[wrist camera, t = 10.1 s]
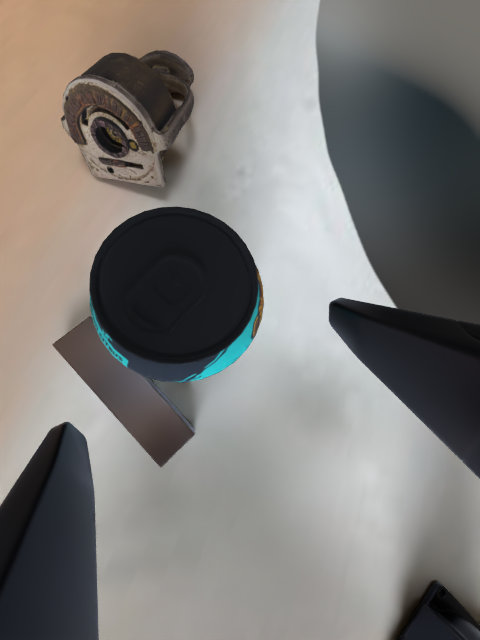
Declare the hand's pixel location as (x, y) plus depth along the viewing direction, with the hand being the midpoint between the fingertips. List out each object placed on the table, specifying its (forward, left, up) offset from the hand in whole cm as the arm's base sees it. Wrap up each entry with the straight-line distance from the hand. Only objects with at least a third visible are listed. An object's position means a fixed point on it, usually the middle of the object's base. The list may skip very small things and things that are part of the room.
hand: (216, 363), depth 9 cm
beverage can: (+3, -1, -12) cm, 13 cm away
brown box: (+3, +5, -12) cm, 13 cm away
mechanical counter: (+18, -10, -12) cm, 24 cm away
